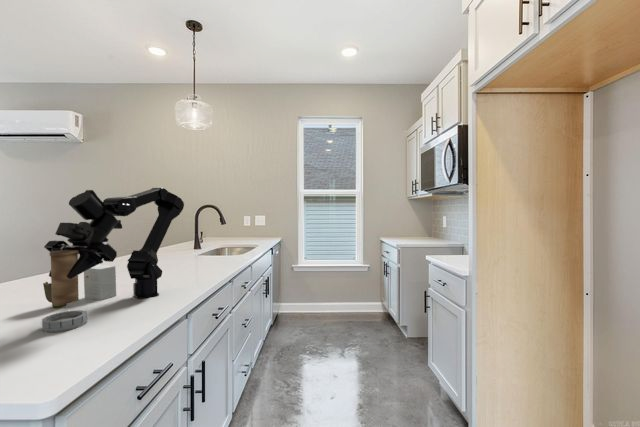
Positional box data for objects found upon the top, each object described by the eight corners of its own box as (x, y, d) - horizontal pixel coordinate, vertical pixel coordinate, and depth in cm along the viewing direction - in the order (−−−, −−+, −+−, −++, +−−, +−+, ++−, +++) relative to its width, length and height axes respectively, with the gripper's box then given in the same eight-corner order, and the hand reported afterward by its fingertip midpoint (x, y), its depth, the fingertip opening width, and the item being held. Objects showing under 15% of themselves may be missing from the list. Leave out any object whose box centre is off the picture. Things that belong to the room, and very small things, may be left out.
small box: (116, 296, 108) (116, 265, 108) (100, 300, 103) (100, 268, 103) (100, 293, 111) (99, 264, 111) (83, 298, 106) (83, 267, 105)
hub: (84, 316, 88) (84, 308, 87) (89, 325, 81) (89, 316, 81) (41, 325, 81) (41, 315, 81) (43, 335, 75) (42, 325, 75)
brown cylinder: (81, 296, 85) (80, 249, 85) (76, 302, 80) (75, 252, 80) (54, 299, 82) (53, 250, 82) (47, 306, 77) (46, 253, 77)
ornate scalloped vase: (56, 311, 92) (56, 284, 92) (37, 309, 94) (36, 283, 93) (80, 303, 99) (80, 278, 99) (62, 302, 101) (61, 277, 101)
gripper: (50, 211, 86) (4, 257, 76) (106, 211, 82) (65, 260, 72) (78, 236, 94) (40, 282, 84) (131, 238, 90) (97, 285, 80)
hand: (59, 277), depth 80 cm, fingers closed on brown cylinder, 5 cm apart
